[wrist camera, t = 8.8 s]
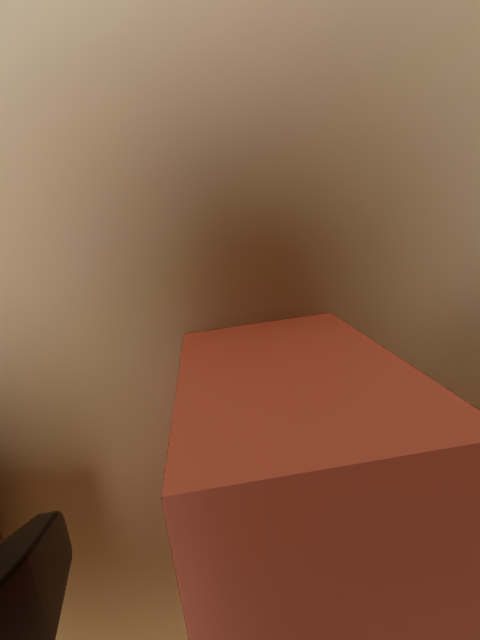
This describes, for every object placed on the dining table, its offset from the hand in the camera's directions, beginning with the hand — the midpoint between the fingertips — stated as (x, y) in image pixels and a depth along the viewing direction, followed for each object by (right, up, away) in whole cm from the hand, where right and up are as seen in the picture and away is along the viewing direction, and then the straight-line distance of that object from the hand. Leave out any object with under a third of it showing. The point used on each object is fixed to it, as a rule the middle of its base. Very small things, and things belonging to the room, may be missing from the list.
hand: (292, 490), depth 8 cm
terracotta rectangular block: (0, 0, +2) cm, 2 cm away
